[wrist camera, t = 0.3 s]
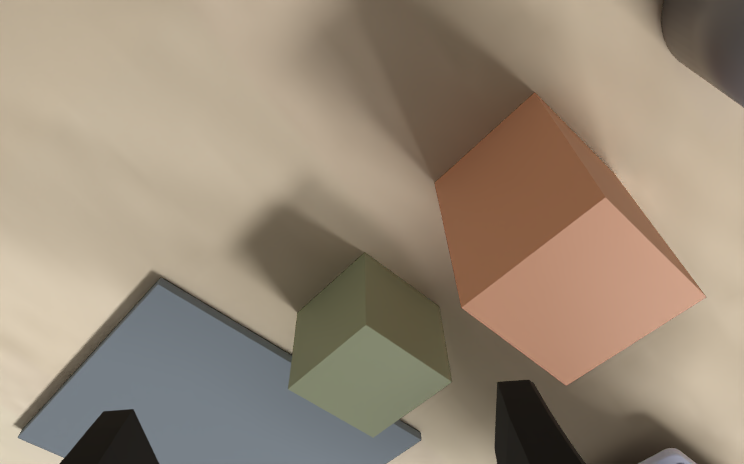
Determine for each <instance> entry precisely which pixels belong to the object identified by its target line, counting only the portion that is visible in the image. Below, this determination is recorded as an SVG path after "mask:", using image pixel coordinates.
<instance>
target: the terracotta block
mask: <svg viewBox="0 0 744 464" xmlns="http://www.w3.org/2000/svg"><path fill="white" fill-rule="evenodd" d="M435 187H436V192H437V197H438V201H439V206H440V211H441V215H442V220H443V225H444V229H445V234H446V239H447V243H448V248H449V252H450V257H451V262H452V266H453V271H454V276H455V280H456V285H457V290H458V294H459V299H460V304H461V308H462V309H464V310H465V311H466V312H468V313H469V314H470V315H472V316H473V317H474V318H476V319H477V320H479V321H480V322H481V323H483V324H484V325H485V326H487V327H488V328H489V329H491V330H492V331H493V332H495V333H496V334H497V335H499V336H500V337H501V338H503V339H504V340H505V341H507V342H508V343H509V344H511V345H512V346H513V347H515V348H516V349H517V350H519V351H520V352H522V353H523V354H524V355H526V356H527V357H528V358H530V359H531V360H532V361H534V362H535V363H536V364H538V365H539V366H540V367H542V368H543V369H544V370H546V371H547V372H548V373H550V374H551V375H552V376H554V377H555V378H556V379H558V380H559V381H560V382H562V383H563V384H565V385H566V386H567V385H568V384H570V383H572V382H573V381H575V380H576V379H578V378H579V377H581V376H583V375H584V374H586V373H587V372H589V371H591V370H592V369H594V368H595V367H597V366H598V365H600V364H602V363H603V362H605V361H606V360H608V359H609V358H611V357H613V356H614V355H616V354H617V353H619V352H621V351H622V350H624V349H625V348H627V347H628V346H630V345H632V344H633V343H635V342H636V341H638V340H639V339H641V338H643V337H644V336H646V335H647V334H649V333H651V332H652V331H654V330H655V329H657V328H658V327H660V326H662V325H663V324H665V323H666V322H668V321H669V320H671V319H673V318H674V317H676V316H677V315H679V314H681V313H682V312H684V311H685V310H687V309H688V308H690V307H692V306H693V305H695V304H696V303H698V302H699V301H701V300H703V299H704V298H706V296H705V295H704V293H703V292H702V291H701V289H700V288H699V286H698V285H697V284H696V282H695V281H694V280H693V278H692V277H691V276H690V274H689V273H688V272H687V270H686V269H685V268H684V266H683V265H682V264H681V262H680V261H679V260H678V258H677V257H676V256H675V254H674V253H673V252H672V250H671V249H670V248H669V246H668V245H667V244H666V242H665V241H664V240H663V238H662V237H661V236H660V234H659V233H658V232H657V230H656V229H655V228H654V226H653V225H652V224H651V222H650V221H649V220H648V218H647V217H646V215H645V214H644V213H643V211H642V210H641V209H640V207H639V206H638V205H637V203H636V202H635V201H634V199H633V198H632V197H631V195H630V194H629V193H628V191H627V190H626V189H625V187H624V186H623V185H622V183H621V182H620V181H619V179H618V178H617V177H616V175H615V174H614V173H613V172H612V171H611V170H610V169H609V168H608V167H607V166H606V165H605V164H604V163H603V162H602V161H601V160H600V159H599V158H598V157H597V156H596V155H595V154H594V153H593V152H592V150H591V149H590V148H589V147H588V146H587V145H586V144H585V143H584V142H583V141H582V140H581V139H580V138H579V137H578V136H577V135H576V134H575V133H574V132H573V131H572V130H571V129H570V128H569V127H568V126H567V125H566V124H565V123H564V122H563V121H562V120H561V119H560V118H559V117H558V116H557V115H556V114H555V112H554V111H553V110H552V109H551V108H550V107H549V106H548V105H547V104H546V103H545V102H544V101H543V100H542V99H541V98H540V97H539V96H538V95H537V94H536V93H533V94H532V95H531V96H530V97H529V98H528V99H527V100H526V101H525V102H523V103H522V104H521V105H520V106H519V107H518V108H517V109H516V110H515V111H513V112H512V113H511V114H510V115H509V116H508V117H507V118H506V119H505V120H504V121H502V122H501V123H500V124H499V125H498V126H497V127H496V128H495V129H494V130H492V131H491V132H490V133H489V134H488V135H487V136H486V137H485V138H484V139H483V140H481V141H480V142H479V143H478V144H477V145H476V146H475V147H474V148H473V149H471V150H470V151H469V152H468V153H467V154H466V155H465V156H464V157H463V158H462V159H460V160H459V161H458V162H457V163H456V164H455V165H454V166H453V167H452V168H450V169H449V170H448V171H447V172H446V173H445V174H444V175H443V176H442V177H440V178H439V179H438V180H437V181H436V182H435Z"/></svg>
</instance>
